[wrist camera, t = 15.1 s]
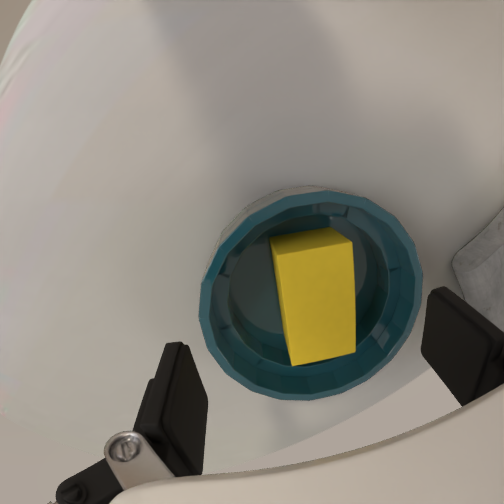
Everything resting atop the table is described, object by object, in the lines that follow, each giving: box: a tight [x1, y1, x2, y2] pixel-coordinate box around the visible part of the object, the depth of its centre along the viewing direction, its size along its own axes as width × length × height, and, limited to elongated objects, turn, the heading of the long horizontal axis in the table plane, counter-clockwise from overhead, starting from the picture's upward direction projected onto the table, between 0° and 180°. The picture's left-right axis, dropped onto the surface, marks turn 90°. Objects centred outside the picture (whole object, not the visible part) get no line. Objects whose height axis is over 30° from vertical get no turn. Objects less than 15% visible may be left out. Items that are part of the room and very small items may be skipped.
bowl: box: [199, 186, 423, 401], centre depth 18 cm, size 13×13×4 cm
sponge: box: [269, 227, 356, 366], centre depth 18 cm, size 7×4×4 cm, turn 10°
